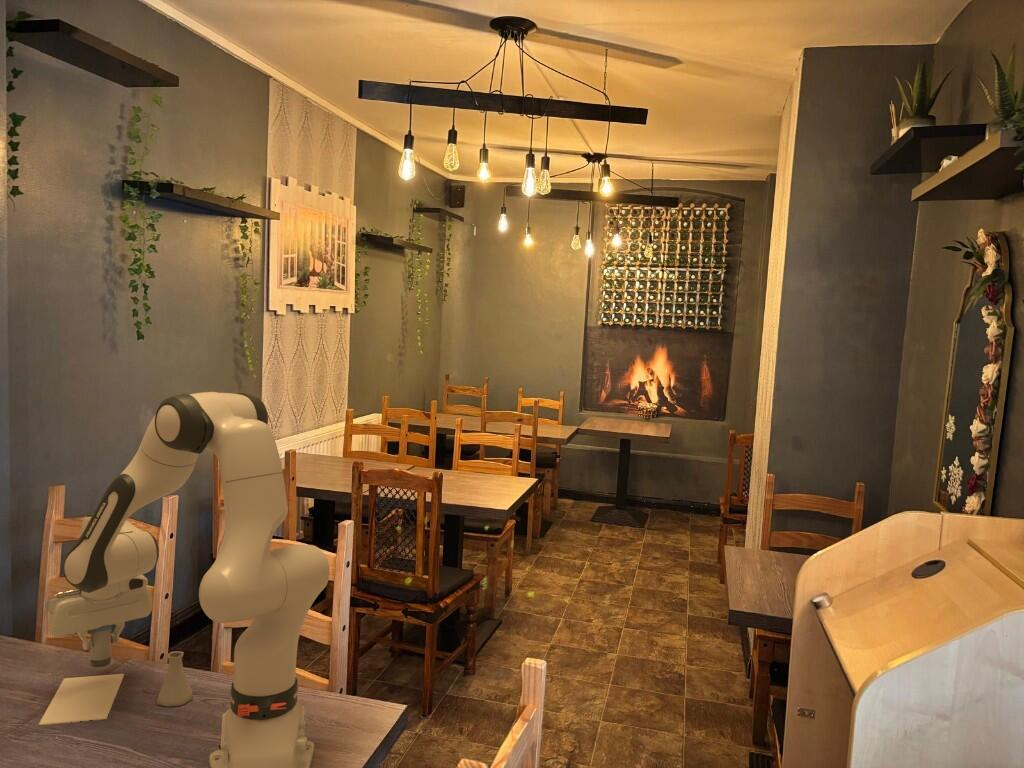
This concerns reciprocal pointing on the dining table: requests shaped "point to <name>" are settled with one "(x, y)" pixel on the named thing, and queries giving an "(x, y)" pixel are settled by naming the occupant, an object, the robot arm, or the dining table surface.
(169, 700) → the flask
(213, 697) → the dining table surface
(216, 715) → the dining table surface
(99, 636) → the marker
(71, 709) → the paper
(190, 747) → the dining table surface
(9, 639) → the dining table surface
